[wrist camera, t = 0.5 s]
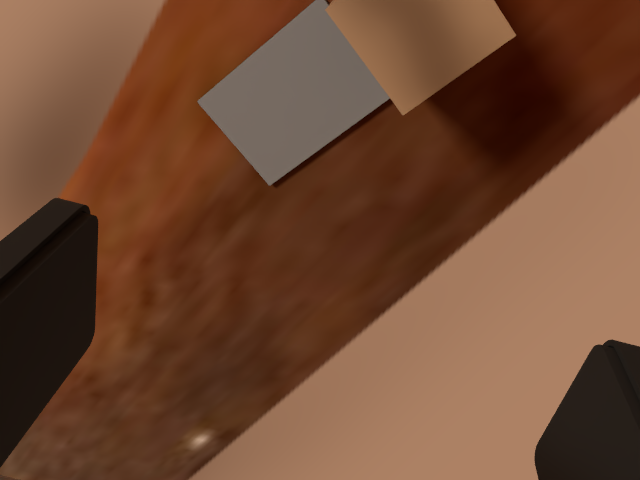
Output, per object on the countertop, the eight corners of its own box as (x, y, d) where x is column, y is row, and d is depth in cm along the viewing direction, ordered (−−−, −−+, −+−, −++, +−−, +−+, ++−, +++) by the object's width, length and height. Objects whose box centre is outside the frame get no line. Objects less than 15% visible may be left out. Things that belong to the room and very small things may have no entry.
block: (432, -87, 31) (440, -88, 24) (493, 9, 33) (517, 34, 26) (341, -10, 34) (325, 9, 27) (403, 76, 36) (402, 115, 29)
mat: (322, -6, 34) (321, -5, 34) (394, 93, 36) (394, 95, 36) (198, 99, 38) (196, 101, 37) (270, 183, 40) (269, 185, 39)
